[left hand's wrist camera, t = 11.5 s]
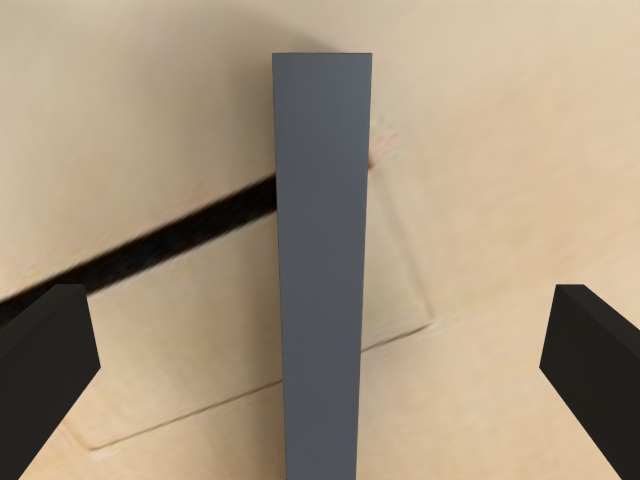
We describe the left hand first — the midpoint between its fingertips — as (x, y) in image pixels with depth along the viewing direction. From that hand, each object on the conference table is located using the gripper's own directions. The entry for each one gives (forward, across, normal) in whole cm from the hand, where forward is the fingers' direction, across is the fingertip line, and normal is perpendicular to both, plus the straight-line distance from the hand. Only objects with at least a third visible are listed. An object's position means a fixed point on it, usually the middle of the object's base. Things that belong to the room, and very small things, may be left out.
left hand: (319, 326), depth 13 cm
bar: (+20, 0, -26) cm, 33 cm away
